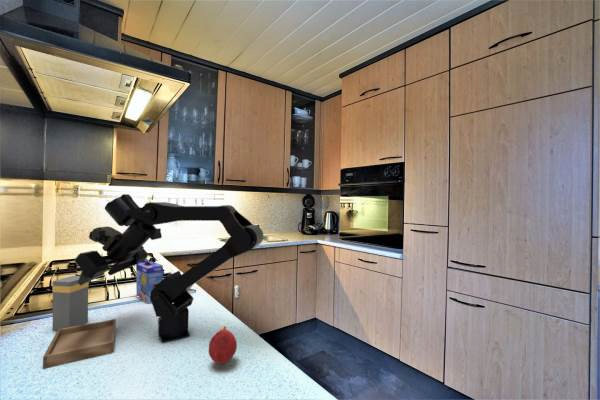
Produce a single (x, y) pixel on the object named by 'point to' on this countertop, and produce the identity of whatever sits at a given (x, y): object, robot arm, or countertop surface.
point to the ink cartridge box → (147, 278)
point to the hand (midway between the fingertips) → (95, 278)
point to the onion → (222, 346)
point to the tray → (80, 343)
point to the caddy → (69, 303)
